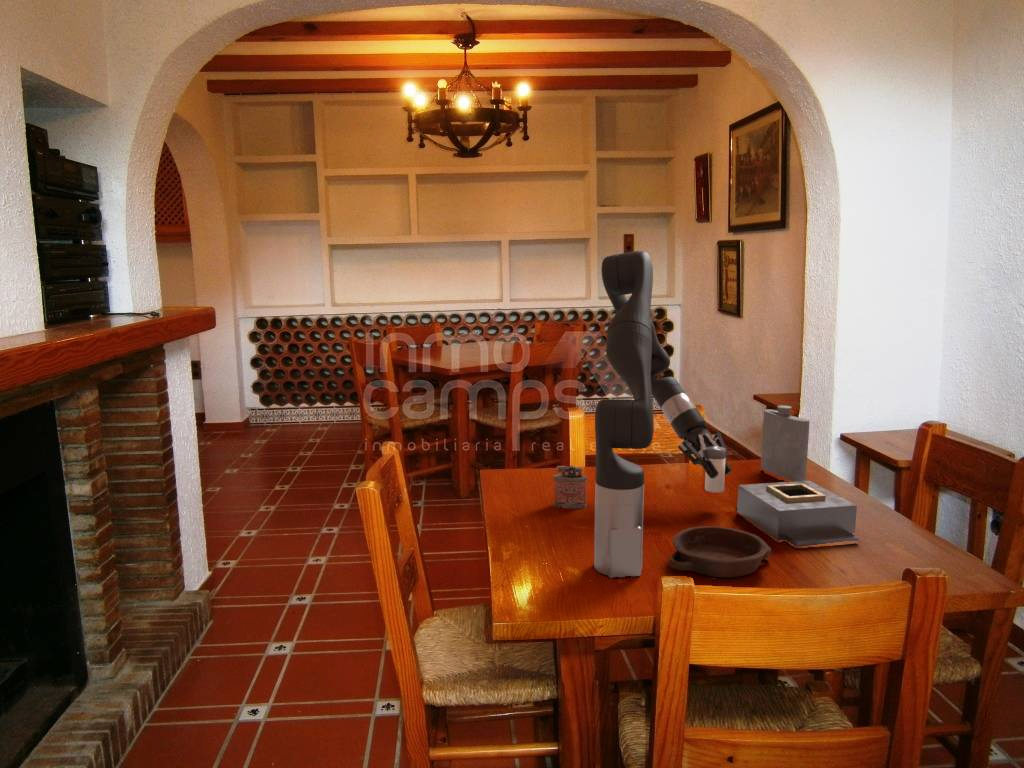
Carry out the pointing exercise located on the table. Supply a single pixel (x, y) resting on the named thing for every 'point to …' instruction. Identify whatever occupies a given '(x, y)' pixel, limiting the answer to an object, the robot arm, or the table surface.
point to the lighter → (570, 488)
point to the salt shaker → (718, 460)
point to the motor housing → (798, 512)
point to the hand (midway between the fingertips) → (721, 474)
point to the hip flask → (785, 444)
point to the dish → (718, 551)
